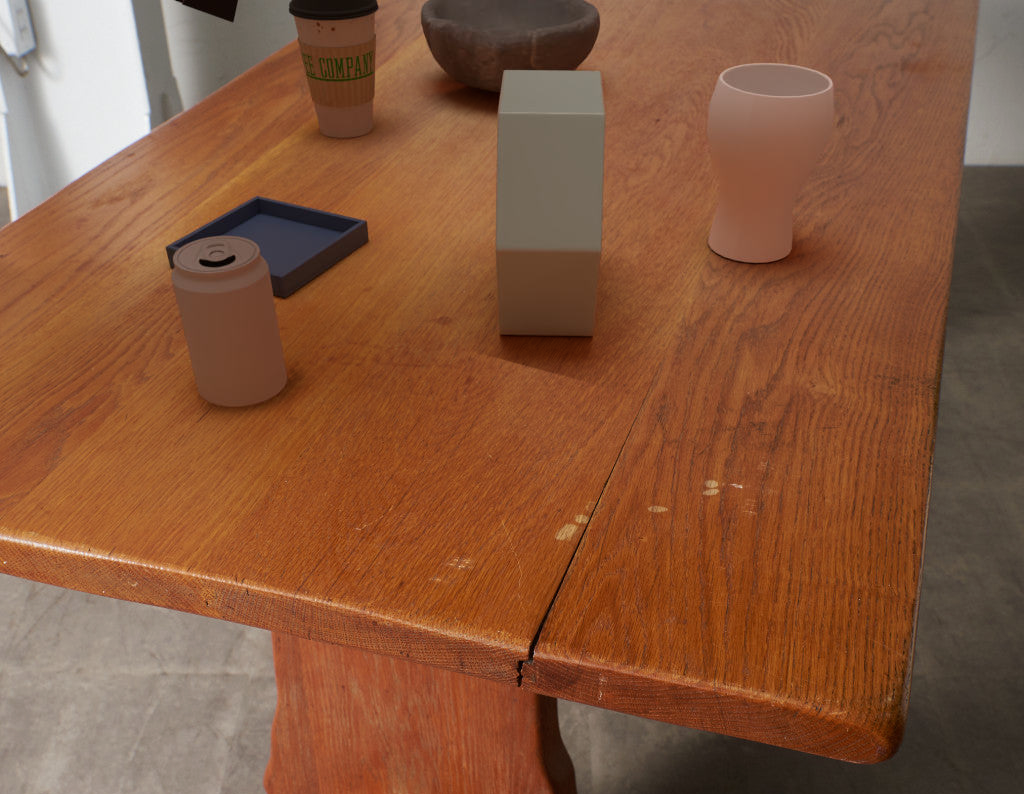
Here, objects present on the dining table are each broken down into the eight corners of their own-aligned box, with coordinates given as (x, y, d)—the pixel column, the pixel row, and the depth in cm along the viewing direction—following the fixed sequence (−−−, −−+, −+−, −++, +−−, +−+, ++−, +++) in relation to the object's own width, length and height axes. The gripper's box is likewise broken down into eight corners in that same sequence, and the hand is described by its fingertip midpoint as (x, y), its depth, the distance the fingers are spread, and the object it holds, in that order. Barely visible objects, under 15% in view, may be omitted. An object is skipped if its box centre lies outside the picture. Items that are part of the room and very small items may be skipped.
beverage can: (205, 434, 71) (168, 279, 64) (200, 387, 76) (165, 237, 68) (295, 420, 73) (269, 266, 65) (285, 374, 78) (260, 226, 70)
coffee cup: (291, 139, 117) (271, -3, 107) (323, 112, 124) (307, -23, 115) (371, 146, 115) (358, 3, 105) (399, 118, 122) (389, -19, 113)
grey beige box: (503, 341, 90) (505, 101, 88) (589, 342, 90) (595, 102, 88) (494, 327, 74) (497, 31, 71) (600, 328, 73) (607, 31, 71)
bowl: (629, 100, 127) (636, 14, 121) (466, 127, 120) (463, 37, 114) (547, 52, 143) (548, -26, 137) (398, 73, 136) (392, -8, 130)
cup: (829, 246, 95) (865, 80, 85) (762, 282, 89) (792, 108, 80) (737, 212, 101) (761, 53, 91) (669, 244, 95) (686, 78, 86)
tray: (169, 267, 92) (165, 246, 90) (260, 215, 101) (256, 195, 99) (285, 298, 87) (282, 277, 86) (369, 240, 96) (367, 220, 95)
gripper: (410, -446, 45) (295, 45, 53) (294, -327, 65) (222, 17, 73) (244, -551, 42) (146, -8, 49) (175, -391, 62) (113, -22, 69)
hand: (191, 8), depth 61 cm, fingers open, 13 cm apart
